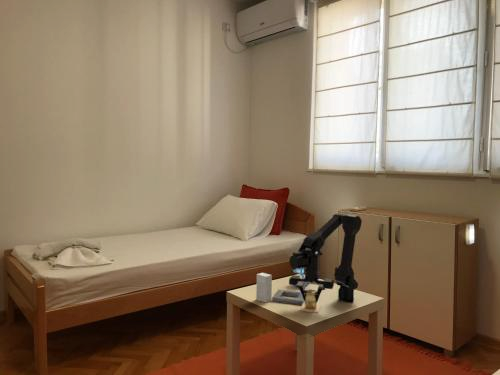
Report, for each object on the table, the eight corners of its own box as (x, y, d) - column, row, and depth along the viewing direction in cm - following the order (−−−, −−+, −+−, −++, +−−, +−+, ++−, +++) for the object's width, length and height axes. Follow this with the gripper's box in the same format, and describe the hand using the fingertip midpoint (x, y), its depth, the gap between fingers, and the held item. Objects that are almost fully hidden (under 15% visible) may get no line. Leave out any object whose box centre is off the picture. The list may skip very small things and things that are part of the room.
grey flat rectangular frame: (307, 296, 191) (307, 292, 191) (302, 305, 180) (302, 301, 180) (278, 293, 196) (278, 289, 195) (272, 301, 184) (272, 297, 184)
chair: (312, 285, 209) (313, 262, 209) (300, 287, 205) (300, 264, 204) (302, 281, 216) (303, 259, 215) (290, 283, 211) (291, 260, 211)
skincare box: (271, 300, 185) (272, 275, 184) (265, 303, 182) (266, 276, 181) (262, 297, 189) (262, 272, 188) (255, 299, 186) (256, 273, 185)
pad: (321, 306, 178) (321, 305, 178) (318, 312, 171) (318, 311, 171) (303, 304, 181) (303, 303, 181) (299, 310, 173) (299, 309, 173)
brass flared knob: (318, 305, 178) (318, 290, 177) (316, 310, 172) (316, 294, 172) (305, 304, 179) (305, 288, 179) (303, 308, 174) (303, 292, 174)
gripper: (335, 263, 180) (334, 297, 181) (294, 259, 185) (293, 293, 186) (332, 269, 169) (331, 306, 170) (289, 265, 175) (288, 301, 176)
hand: (310, 301), depth 176 cm, fingers closed on brass flared knob, 5 cm apart
